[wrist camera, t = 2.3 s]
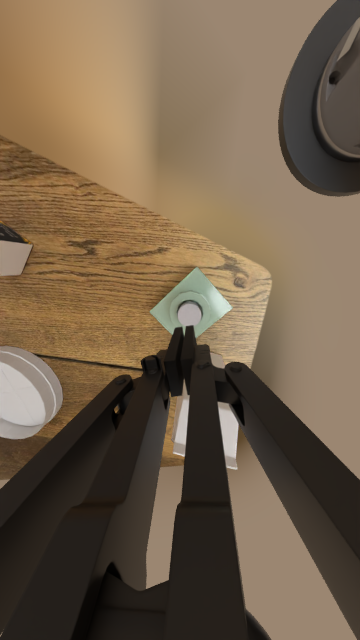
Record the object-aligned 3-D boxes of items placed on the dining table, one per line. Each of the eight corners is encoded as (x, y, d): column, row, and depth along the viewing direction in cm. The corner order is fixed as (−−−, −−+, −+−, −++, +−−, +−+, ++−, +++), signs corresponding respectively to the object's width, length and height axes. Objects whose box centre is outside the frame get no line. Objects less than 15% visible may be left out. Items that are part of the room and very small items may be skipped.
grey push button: (190, 296, 27) (190, 298, 25) (205, 313, 28) (206, 316, 26) (174, 311, 28) (172, 314, 26) (189, 327, 28) (188, 331, 26)
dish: (7, 427, 47) (-14, 445, 42) (-41, 356, 42) (-72, 368, 37) (77, 414, 44) (63, 433, 39) (35, 336, 38) (12, 346, 33)
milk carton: (212, 382, 38) (227, 490, 20) (180, 374, 38) (166, 474, 20) (221, 354, 35) (249, 445, 17) (188, 346, 36) (180, 428, 17)
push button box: (196, 266, 31) (196, 266, 25) (228, 303, 32) (235, 310, 27) (154, 306, 34) (146, 314, 28) (185, 338, 35) (183, 352, 29)
